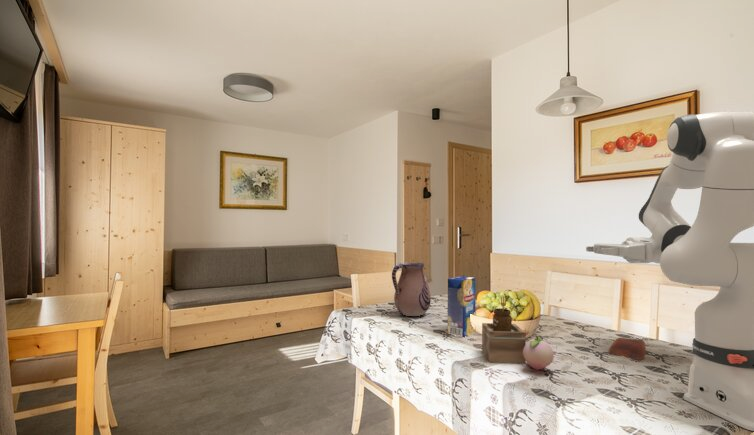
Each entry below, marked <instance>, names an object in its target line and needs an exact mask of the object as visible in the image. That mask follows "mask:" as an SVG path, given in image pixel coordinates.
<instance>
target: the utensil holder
mask: <svg viewBox="0 0 754 435" xmlns="http://www.w3.org/2000/svg"><path fill="white" fill-rule="evenodd" d="M498 301H500V303H498V307H499V308H494V310H493V317H492V323H493V330H494V331H511V330H512V324H513V322H512V315H511V310H510V309H507V308H506V306H507V296H500V298H498Z"/></svg>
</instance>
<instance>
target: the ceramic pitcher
mask: <svg viewBox="0 0 754 435" xmlns="http://www.w3.org/2000/svg"><path fill="white" fill-rule="evenodd" d="M424 266H425V264H424V263H423V262H410V261H409V262H401V263H399V264H396V265H395V266H394V267H393V269H392V272H391V280H392V284H393V286H394V290H395V291H394V296H393V301H394V305H395V307H396V310H397V311H398V312H399V313H400V315H402V314H403V315H402V316H404V315H406V316H405V317H407V316H419V315H422V316H424V315H425V314H426V313H427V311H428V310H429V308H430V306H431V302H432V300H431V298H432V297H431V292H430V288H429V287H430V286H429V283H428V278H427V277H426V274H425V272H424ZM399 269H401V272H400V276H399V278H398V281H397V272H398V270H399ZM419 317H420V316H419Z"/></svg>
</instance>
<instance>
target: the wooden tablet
mask: <svg viewBox="0 0 754 435" xmlns="http://www.w3.org/2000/svg"><path fill="white" fill-rule="evenodd" d="M646 351H647V350H646V343H645V340H642V339H635V338H634V339H632V338H626V337H618V339H617V338H616V339H615V340H614V341H613V343H612V344H611V345H610V347H609V349H608V354H609V355H612V356H617V357H624V358H627V359H632V360H637V361H642V360H643V359H644V358H645V356H646Z"/></svg>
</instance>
